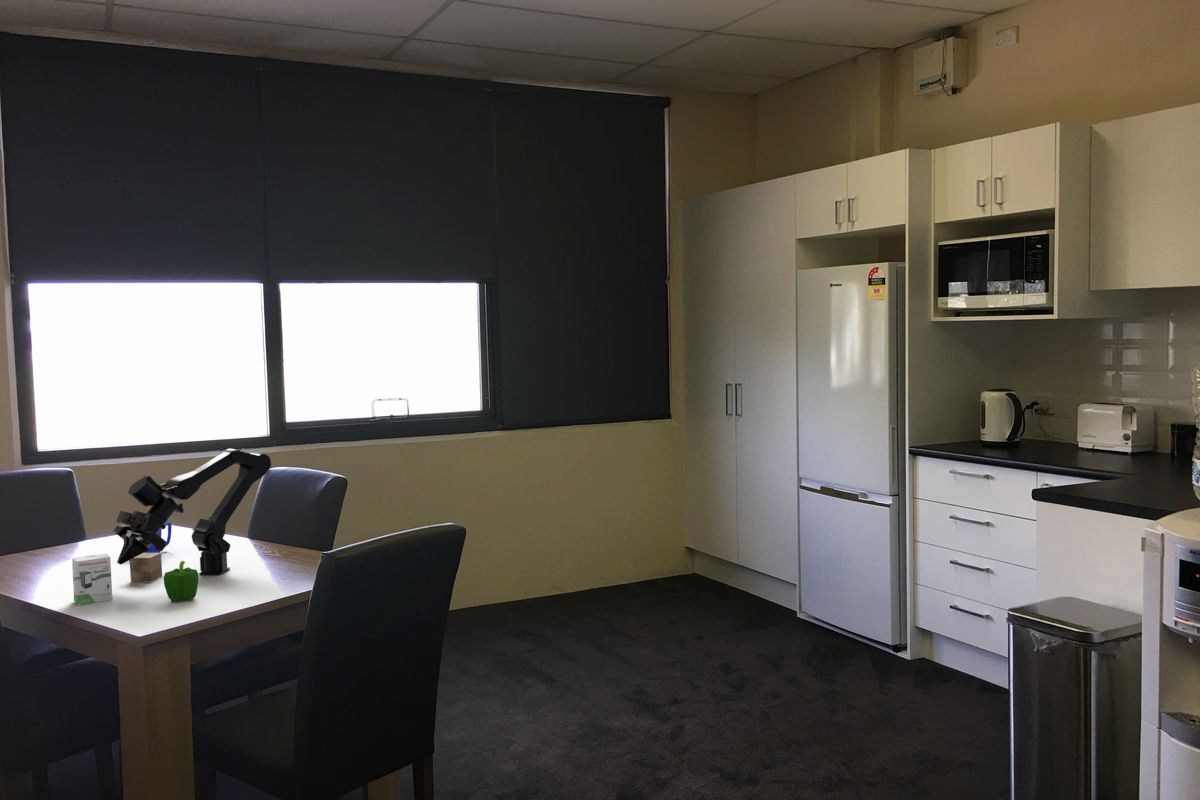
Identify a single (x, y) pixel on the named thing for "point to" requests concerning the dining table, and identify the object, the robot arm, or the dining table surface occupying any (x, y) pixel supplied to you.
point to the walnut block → (146, 567)
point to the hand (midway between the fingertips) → (118, 563)
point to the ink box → (92, 578)
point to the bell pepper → (181, 583)
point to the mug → (152, 547)
